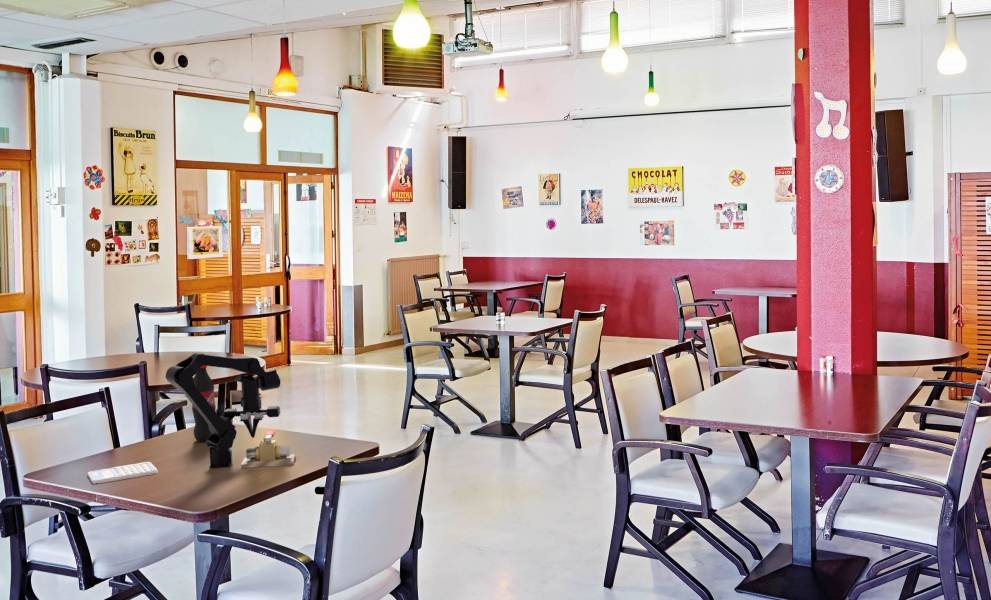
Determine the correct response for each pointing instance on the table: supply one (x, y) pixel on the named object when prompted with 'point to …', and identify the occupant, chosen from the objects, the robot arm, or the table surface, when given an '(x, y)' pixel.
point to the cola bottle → (207, 391)
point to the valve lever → (269, 436)
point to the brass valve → (268, 452)
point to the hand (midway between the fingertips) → (253, 437)
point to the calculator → (122, 472)
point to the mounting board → (268, 462)
